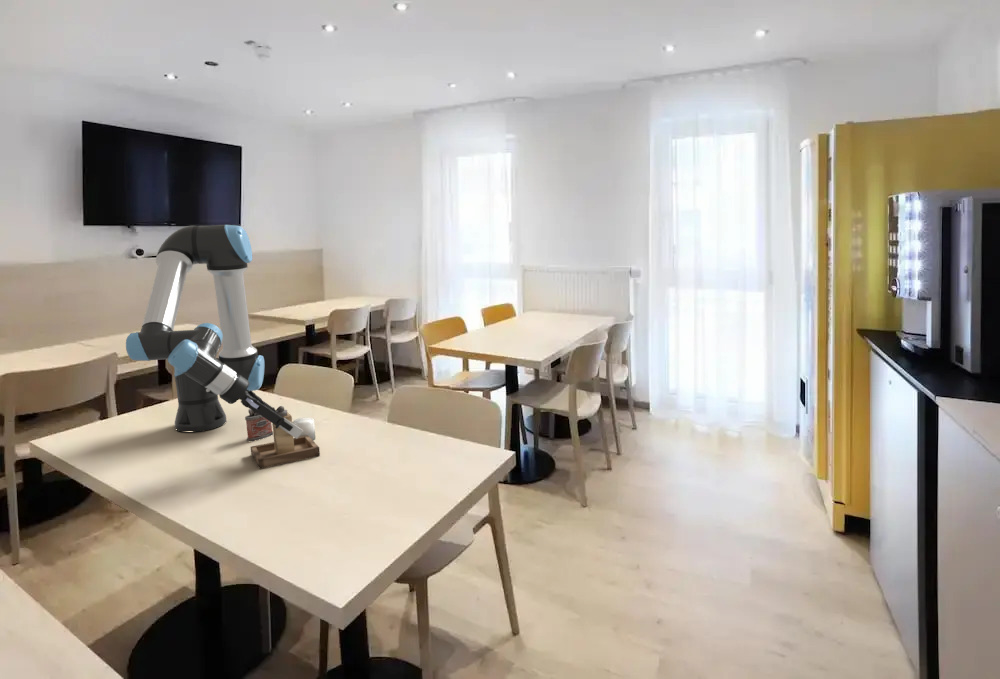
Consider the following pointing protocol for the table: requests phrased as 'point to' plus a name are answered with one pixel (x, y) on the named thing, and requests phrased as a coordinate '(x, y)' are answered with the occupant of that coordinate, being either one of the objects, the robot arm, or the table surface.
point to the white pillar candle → (306, 427)
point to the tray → (268, 457)
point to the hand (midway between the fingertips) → (297, 431)
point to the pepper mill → (283, 435)
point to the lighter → (257, 426)
